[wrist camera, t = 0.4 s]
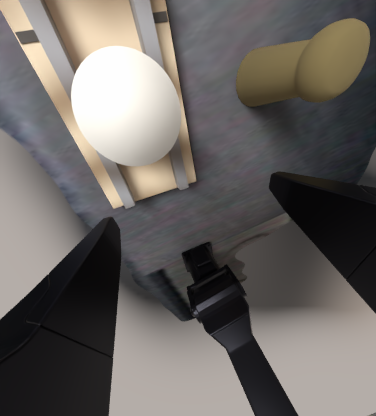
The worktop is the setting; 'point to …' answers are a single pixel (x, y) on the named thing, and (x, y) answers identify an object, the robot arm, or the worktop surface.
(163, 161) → the plug rig
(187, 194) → the worktop surface
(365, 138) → the worktop surface
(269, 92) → the cork
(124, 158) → the red plug
